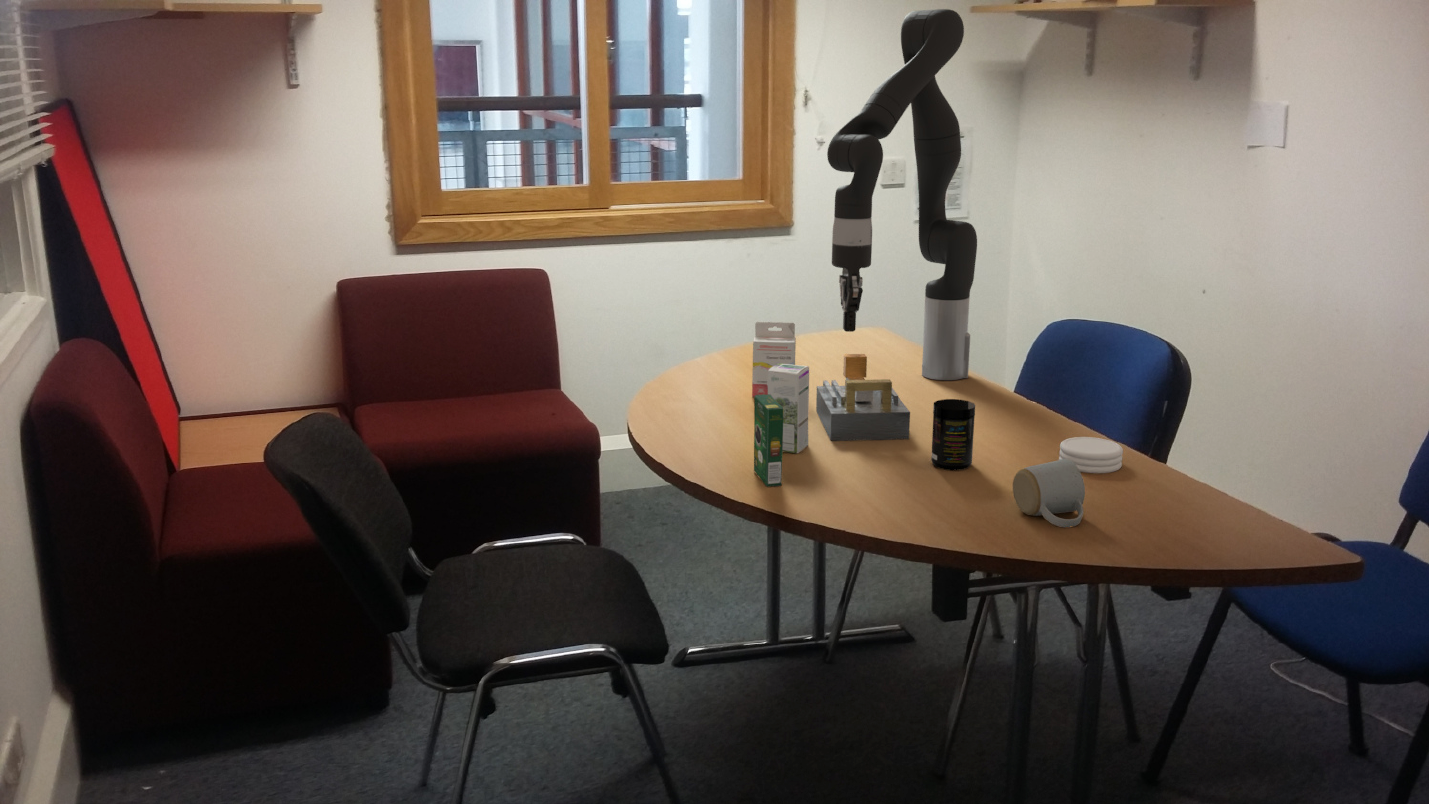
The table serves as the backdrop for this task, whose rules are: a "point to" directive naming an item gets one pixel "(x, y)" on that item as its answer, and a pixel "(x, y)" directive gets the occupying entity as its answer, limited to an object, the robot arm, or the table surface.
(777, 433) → the coffee box
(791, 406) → the syrup box
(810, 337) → the table surface
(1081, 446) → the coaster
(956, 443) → the supplement container
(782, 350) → the ink cartridge box
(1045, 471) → the ceramic mug
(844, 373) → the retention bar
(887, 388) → the heatsink block
